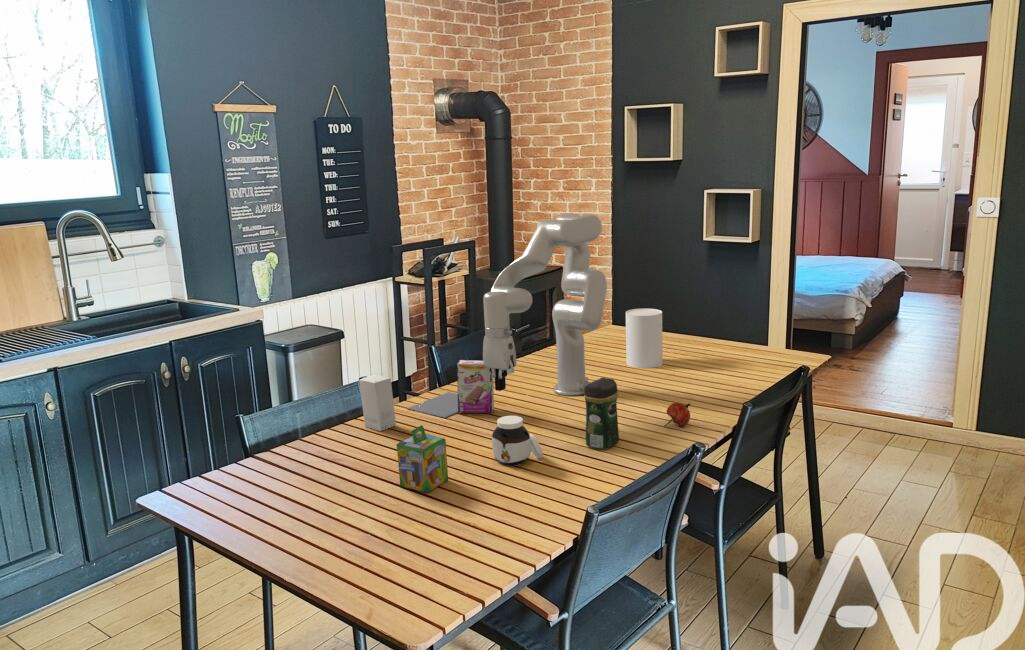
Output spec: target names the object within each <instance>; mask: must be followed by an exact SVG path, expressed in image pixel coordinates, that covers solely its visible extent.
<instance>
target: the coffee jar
mask: <svg viewBox="0 0 1025 650" xmlns="http://www.w3.org/2000/svg"><path fill="white" fill-rule="evenodd" d="M583 397H584V401H585V411H586V412H585V422H586V423H585V444H586V446H587V447H589V448H591V449H593V450H607V449H610V448H612V447H613V446H615V445H617V443H619V440H620V435H619V434H620V433H619V432H620V431H619V424H618V423H619V421H618V420H619V419H618V409H617V405H618V404H617V402H618V401H617V400H618V383H617V382H616V381H615V379H613V378H608V377H600V378H599V379H596V380H593V381H591V383H589V384H587V385H585V387H584V394H583Z"/></svg>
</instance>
